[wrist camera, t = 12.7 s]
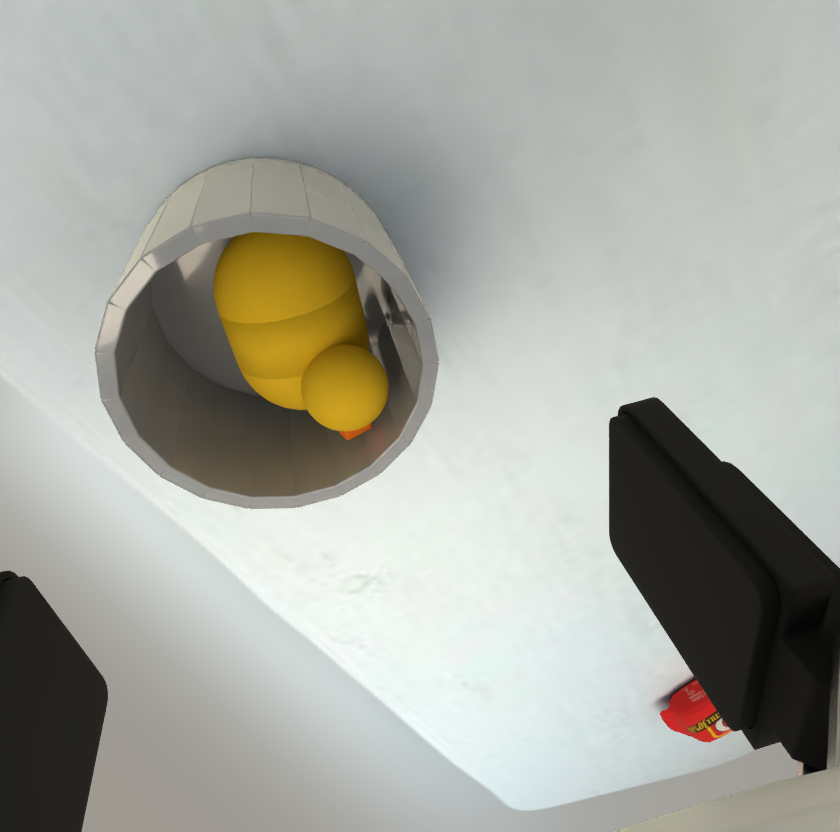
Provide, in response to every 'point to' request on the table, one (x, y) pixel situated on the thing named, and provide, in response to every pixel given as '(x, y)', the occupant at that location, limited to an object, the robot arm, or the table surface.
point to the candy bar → (694, 714)
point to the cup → (214, 359)
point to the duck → (300, 328)
